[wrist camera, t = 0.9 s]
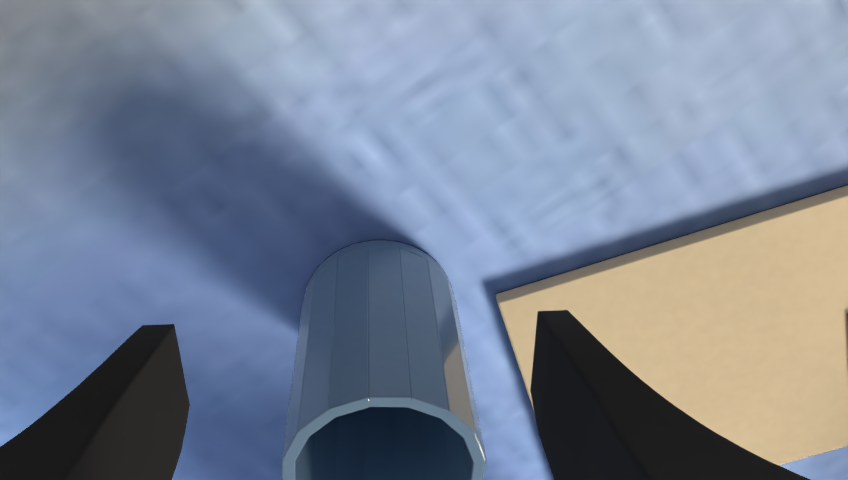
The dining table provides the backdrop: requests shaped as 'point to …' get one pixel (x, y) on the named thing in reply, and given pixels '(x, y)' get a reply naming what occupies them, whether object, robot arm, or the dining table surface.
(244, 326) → the dining table surface
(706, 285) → the cutting board
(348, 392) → the tumbler
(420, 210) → the dining table surface
